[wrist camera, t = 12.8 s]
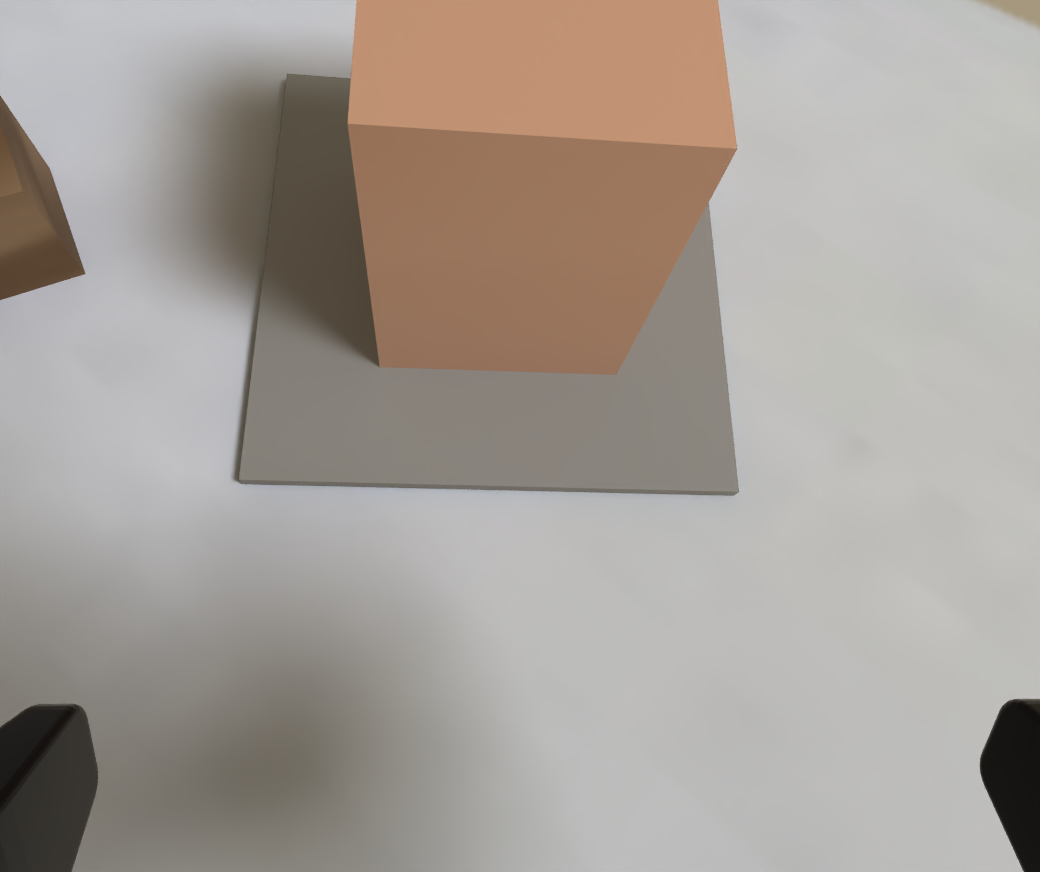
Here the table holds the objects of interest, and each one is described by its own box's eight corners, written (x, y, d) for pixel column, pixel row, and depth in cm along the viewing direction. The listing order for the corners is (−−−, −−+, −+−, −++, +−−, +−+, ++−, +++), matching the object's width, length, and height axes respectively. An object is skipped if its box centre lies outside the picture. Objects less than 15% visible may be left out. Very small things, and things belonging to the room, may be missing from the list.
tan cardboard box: (616, 374, 24) (737, 148, 15) (379, 367, 23) (347, 123, 14) (605, 180, 26) (701, -120, 17) (390, 168, 26) (368, -154, 16)
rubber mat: (733, 495, 23) (738, 491, 23) (241, 483, 22) (238, 479, 22) (694, 113, 28) (698, 104, 28) (289, 83, 27) (286, 73, 26)
